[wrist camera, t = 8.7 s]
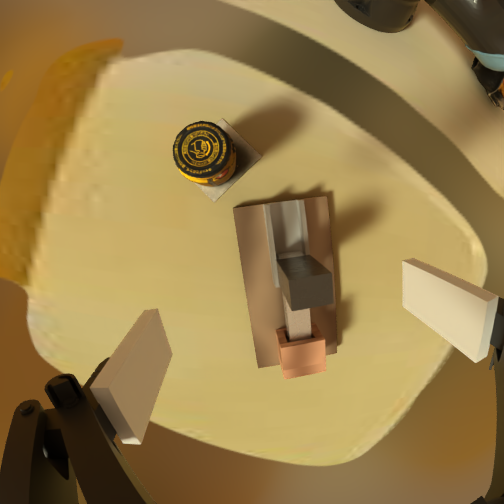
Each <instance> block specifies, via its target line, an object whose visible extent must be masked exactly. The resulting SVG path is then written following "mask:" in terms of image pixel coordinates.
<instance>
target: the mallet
mask: <svg viewBox="0 0 504 504" xmlns="http://www.w3.org/2000/svg"><path fill="white" fill-rule="evenodd" d="M276 265H277V273H278V281H279V286H280V288H281V290H282V295H283V304H284V312H285V322H286V331H287V340H288V343H290V342H295V341H301V340H306V339H311V338H312V336H311V321H310V308H314V307H319V306H324V305H329V304H334V299H333V281H332V272H330V271H329V270H328V269H327V268H326V267H324V266H323V265H322V264H321V263H320V262H318V261H317V260H316V259H315V258H313V257H312V256H311V255H304V254H303V253H302V252H301V251H294V252H288V253H281V254H278V260H276Z"/></svg>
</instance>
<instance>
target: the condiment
mask: <svg viewBox="0 0 504 504" xmlns="http://www.w3.org/2000/svg"><path fill="white" fill-rule="evenodd" d="M173 156H174V160H175V164H176V165H177V167H178V169H179V170H180V172H181V173H182V175H183V176H184V177H186V178H187V179H189V180H190V181H192V182H194V183H195V184H196V185H197V186H198V187H199V188H200V189H201V190H202V191H203V192H204V193H205V194H206V195H207V196H208V197H209V198H210V199H211V200H212V201H213V202H215V201H216V200H217V199H218V198H219V197H220V196H221V195H222V194H223V193H224V192H225V191H226V190H227V189H228V188H229V187H231V186H232V185H233V184H234V183H235V182H236V181H237V180H238V179H239V178H240V177H241V176H242V175H243V174H244V173H245V172H246V171H247V170H248V169H249V168H250V167H251V166H252V165H253V164H254V163H255V162H256V161H258V160H259V159H260V158H261V157H262V156H261V155H260V154H259V153H258V152H257V151H256V150H255V149H254V148H253V147H251V146H250V145H249V144H248V143H247V142H246V141H245V140H244V139H243V138H242V137H241V136H240V135H239V134H238V133H237V132H236V131H235V130H234V129H233V128H232V127H231V126H230V125H228V123H226V122H225V121H224V120H223V119H221V120H220V121H219V122H218V123H217V124H214V123H212V122H205V121H199V122H195V123H193V124H189V125H188V126H186V127H185V128H184V129H183V130H182V131H181V132H180V133H179V134H178V135H177V137H176V140H175V142H174V145H173ZM237 166H238V167H237Z"/></svg>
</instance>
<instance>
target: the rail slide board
mask: <svg viewBox="0 0 504 504" xmlns="http://www.w3.org/2000/svg"><path fill="white" fill-rule="evenodd" d="M233 213H234V219H235V226H236V233H237V239H238V246H239V252H240V259H241V265H242V271H243V278H244V284H245V290H246V297H247V303H248V309H249V315H250V322H251V328H252V334H253V340H254V346H255V352H256V358H257V364H258V368H262V367H269V366H275V365H281V368H282V372H283V376H284V379H290V378H295V377H300V376H305V375H310V374H315V373H319V372H324V371H326V355H330V354H335V353H337V329H336V300H335V281H334V265H333V252H332V240H331V230H330V220H329V210H328V202H327V196H320V197H311V198H303V199H295V200H287V201H279V202H272V203H265V204H257V205H250V206H244V207H237V208H233ZM294 251H301V252H302V253H303V254H304V255H311V256H312V257H313V258H315V259H316V260H317V261H318V262H320V263H321V264H322V265H323V266H324V267H326V268H327V269H328V270H329V271H330V272H332V281H333V299H334V304H329V305H324V306H319V307H314V308H310V321H311V336H312V338H311V339H306V340H301V341H295V342H290V343H288V340H287V331H286V322H285V312H284V304H283V295H282V290H281V288H280V286H279V281H278V273H277V265H276V260H278V254H281V253H288V252H294Z"/></svg>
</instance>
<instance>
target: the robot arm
mask: <svg viewBox="0 0 504 504" xmlns="http://www.w3.org/2000/svg"><path fill="white" fill-rule="evenodd" d="M334 1H335V2H336V3H337V5H338V6H339V7H340V8H341V9H342V10H343V11H344V12H345V13H347V14H348V15H349V16H350V17H352V18H353V19H355V20H356V21H358V22H359V23H361V24H363V25H365V26H367V27H369V28H372V29H375V30H378V31H381V32H388V33H394V32H399V31H401V30H403V29H404V28H405V27H406V26H407V25H409V24H410V22H411V21H412V18H413V14H414V12H415V10H416V7H417V4H418V2H419V1H420V0H334ZM425 1H426V2H427V3H428V4H429V5H430V6H431V7H432V8H433V9H434V10H435V11H436V12H437V13H438V14H439V15H440V16H441V17H442V18H443V19H444V20H445V21H446V23H447V24H448V25H449V26H450V27H451V28H452V29H453V30H454V31H455V33H456V34H457V35H458V36H459V37H460V38H461V40H462V41H463V42H464V43H465V46H466V47H467V48H468V49H469V50H470V51H472V52H473V54H474V55H475V56H476V57H477V59H478V60H479V61H480V62H481V63H482V64H483V65H484V66H485V67H487V68H489V69H491V70H494V71H504V0H425ZM402 263H403V307H404V308H405V309H406V310H408V311H409V312H411V313H412V314H413V315H415V316H416V317H417V318H419V319H420V320H421V321H422V322H424V323H425V324H426V325H428V326H429V327H430V328H432V329H433V330H434V331H436V332H437V333H438V334H439V335H441V336H442V337H443V338H445V339H446V340H447V341H448V342H450V343H451V344H452V345H454V346H455V347H456V348H458V349H459V350H460V351H461V352H462V353H464V354H465V355H466V356H467V357H469V358H470V359H471V360H472V361H474V362H475V363H476V362H478V361H480V360H482V359H483V358H485V357H486V356H487V353H488V350H489V345H490V344H492V345H493V346H494V347H495V348H494V353H493V357H492V360H491V363H490V367H489V370H491V368H492V366H493V365H494V370H495V380H496V395H497V396H496V397H497V434H496V450H495V460H494V469H493V476H492V482H491V485H490V488H489V490H488V492H487V494H486V496H485V498H483V497H482V496H481V497H479V498H478V499H477V500H475V501H474V502H472V503H471V504H504V299H502V298H500V297H499V296H497V295H495V294H492V293H491V292H489V291H486V290H484V289H482V288H480V287H478V286H476V285H474V284H471V283H469V282H467V281H465V280H463V279H460V278H458V277H456V276H454V275H452V274H449V273H447V272H445V271H442V270H440V269H438V268H436V267H433V266H431V265H429V264H426V263H424V262H421V261H419V260H417V259H414V258H412V259H407V260H403V261H402ZM171 357H172V351H171V348H170V345H169V342H168V340H167V336H166V333H165V330H164V327H163V324H162V321H161V318H160V314H159V311H158V309H151V310H144V312H143V313H142V314H141V316H140V317H139V318H138V320H137V321H136V322H135V324H134V325H133V327H132V328H131V329H130V331H129V332H128V333H127V335H126V336H125V338H124V339H123V340H122V342H121V343H120V344H119V346H118V347H117V349H116V350H115V352H114V353H113V354H112V356H111V357H109V358H106V359H105V360H104V361H103V362H101V363H100V364H99V365H98V367H97V368H96V369H95V372H93V374H92V375H91V377H90V378H89V379H88V381H87V382H86V383H85V385H84V386H83V388H81V386H80V385H79V383H78V381H77V379H76V377H75V376H74V375H73V374H61V375H58V376H56V377H54V378H52V379H51V380H50V381H48V383H47V384H46V385H45V392H46V393H47V395H48V397H49V399H50V400H51V402H52V404H53V405H54V407H55V408H54V409H46V410H44V409H43V407H42V406H41V404H40V403H39V401H37V400H28V401H24V402H23V403H21V404H20V405H19V406H18V407H17V408H16V410H15V412H14V415H13V419H12V422H11V426H10V429H9V433H8V437H7V441H6V445H5V450H4V454H3V459H2V465H1V470H0V504H79V503H78V495H77V485H76V478H77V480H78V483H79V485H80V488H81V490H82V492H83V495H84V497H85V500H86V501H87V504H156V502H155V501H154V500H153V498H152V497H151V496H150V494H149V493H148V492H147V490H146V489H145V488H144V486H143V485H142V484H141V482H140V481H139V479H138V478H137V476H136V475H135V473H134V472H133V470H132V469H131V467H130V466H129V464H128V463H127V461H126V460H125V458H124V456H123V455H122V453H121V451H120V450H119V448H118V447H117V445H116V443H115V442H114V441H113V440H114V438H115V435H116V433H117V435H118V436H119V438H120V439H121V441H122V442H123V443H126V444H141V443H142V440H143V437H144V434H145V431H146V428H147V425H148V422H149V419H150V416H151V413H152V410H153V408H154V405H155V402H156V399H157V396H158V393H159V390H160V388H161V385H162V382H163V379H164V376H165V374H166V371H167V368H168V365H169V363H170V360H171Z"/></svg>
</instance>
